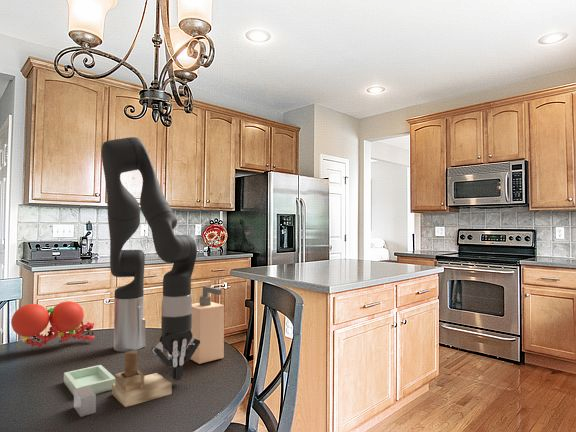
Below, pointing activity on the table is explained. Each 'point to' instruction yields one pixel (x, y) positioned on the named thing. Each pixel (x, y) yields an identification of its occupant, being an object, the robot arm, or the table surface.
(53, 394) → the table surface
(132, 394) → the wooden socket block
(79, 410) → the stop
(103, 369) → the tray
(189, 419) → the table surface
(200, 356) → the soap dispenser
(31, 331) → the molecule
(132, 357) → the dowel
